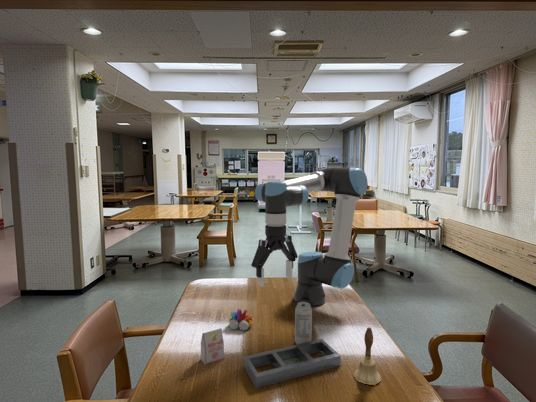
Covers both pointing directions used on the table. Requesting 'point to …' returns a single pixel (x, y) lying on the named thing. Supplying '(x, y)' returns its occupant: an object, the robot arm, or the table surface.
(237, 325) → the rainbow disc toy
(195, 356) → the table surface
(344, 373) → the table surface
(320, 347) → the rack
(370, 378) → the hand bell
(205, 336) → the white printed box
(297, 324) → the energy drink can
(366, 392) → the table surface
